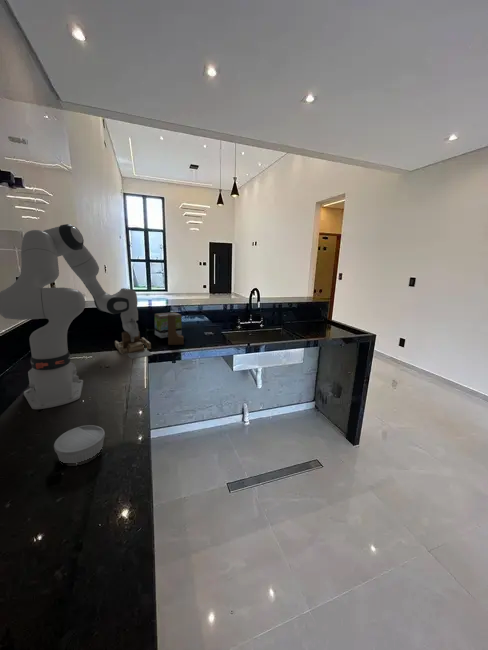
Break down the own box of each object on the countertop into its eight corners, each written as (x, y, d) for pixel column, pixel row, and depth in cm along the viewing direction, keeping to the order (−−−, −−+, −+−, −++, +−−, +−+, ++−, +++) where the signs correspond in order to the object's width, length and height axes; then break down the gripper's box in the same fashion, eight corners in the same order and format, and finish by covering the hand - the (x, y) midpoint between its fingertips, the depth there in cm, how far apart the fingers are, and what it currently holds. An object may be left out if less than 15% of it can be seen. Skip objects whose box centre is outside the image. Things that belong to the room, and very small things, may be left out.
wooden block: (183, 342, 167) (183, 314, 163) (183, 344, 163) (183, 315, 158) (168, 343, 165) (167, 314, 160) (168, 345, 160) (167, 315, 156)
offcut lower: (144, 350, 149) (144, 346, 148) (129, 352, 144) (129, 348, 144) (142, 348, 152) (141, 344, 152) (127, 350, 148) (127, 346, 147)
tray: (151, 349, 152) (150, 343, 151) (120, 354, 143) (120, 347, 142) (143, 342, 164) (142, 336, 163) (114, 346, 155) (114, 340, 154)
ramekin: (113, 441, 76) (111, 424, 75) (93, 471, 66) (91, 452, 64) (73, 440, 76) (71, 424, 75) (46, 470, 65) (43, 452, 64)
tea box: (161, 338, 172) (160, 316, 169) (154, 335, 180) (153, 313, 176) (182, 335, 182) (181, 314, 179) (175, 332, 189) (174, 311, 186)
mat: (152, 355, 143) (152, 354, 143) (131, 359, 136) (131, 358, 136) (148, 351, 149) (148, 350, 149) (127, 354, 142) (127, 353, 142)
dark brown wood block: (140, 345, 157) (139, 331, 155) (124, 348, 151) (123, 333, 149) (138, 344, 159) (137, 330, 157) (122, 346, 154) (121, 332, 152)
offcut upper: (143, 346, 149) (143, 343, 148) (130, 348, 144) (130, 345, 144) (140, 344, 151) (140, 341, 151) (128, 346, 147) (128, 343, 146)
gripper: (141, 320, 145) (142, 344, 148) (130, 313, 161) (132, 335, 164) (128, 321, 141) (130, 346, 145) (119, 314, 157) (121, 336, 160)
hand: (131, 340), depth 154 cm, fingers closed on dark brown wood block, 3 cm apart
